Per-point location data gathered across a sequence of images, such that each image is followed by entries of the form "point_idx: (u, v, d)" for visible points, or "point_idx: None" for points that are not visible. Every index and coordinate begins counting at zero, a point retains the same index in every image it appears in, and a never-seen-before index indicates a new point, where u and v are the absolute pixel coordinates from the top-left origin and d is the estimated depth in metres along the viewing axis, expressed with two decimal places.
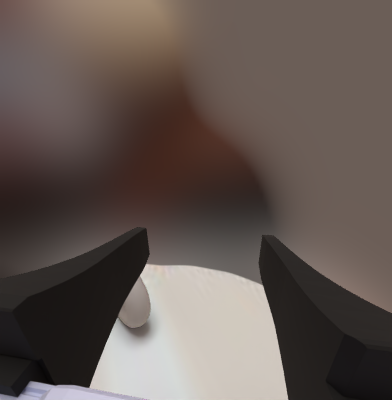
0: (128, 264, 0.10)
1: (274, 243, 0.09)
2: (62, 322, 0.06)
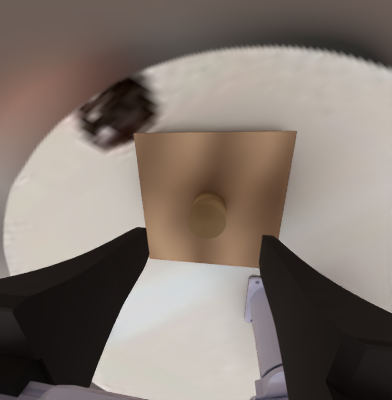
0: (128, 264, 0.10)
1: (274, 243, 0.09)
2: (62, 322, 0.06)
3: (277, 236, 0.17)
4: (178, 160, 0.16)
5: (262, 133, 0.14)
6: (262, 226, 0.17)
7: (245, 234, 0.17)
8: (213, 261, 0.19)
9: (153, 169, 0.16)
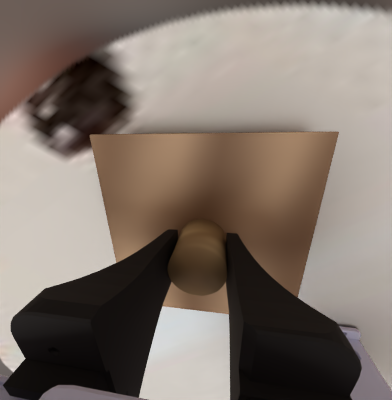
0: (165, 267, 0.09)
1: (233, 240, 0.09)
2: (122, 331, 0.05)
3: (299, 281, 0.12)
4: (156, 174, 0.11)
5: (283, 135, 0.09)
6: (278, 267, 0.12)
7: None
8: (208, 308, 0.14)
9: (121, 187, 0.11)
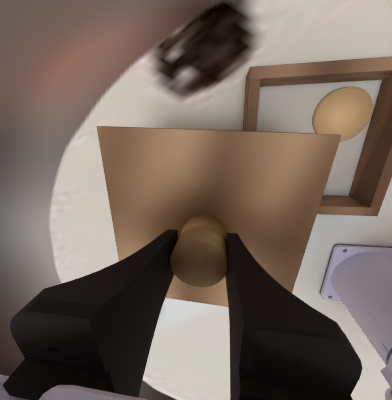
0: (165, 267, 0.09)
1: (233, 240, 0.09)
2: (122, 331, 0.05)
3: (294, 277, 0.13)
4: (161, 169, 0.11)
5: (288, 135, 0.09)
6: (275, 263, 0.12)
7: None
8: (206, 300, 0.15)
9: (126, 179, 0.12)
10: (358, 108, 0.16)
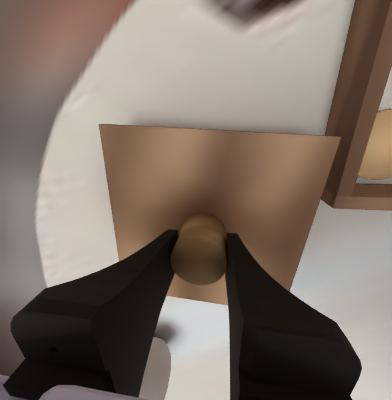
0: (165, 267, 0.09)
1: (233, 240, 0.09)
2: (123, 331, 0.05)
3: (292, 276, 0.13)
4: (163, 167, 0.11)
5: (288, 137, 0.09)
6: (273, 262, 0.13)
7: None
8: (204, 298, 0.15)
9: (127, 177, 0.12)
10: None
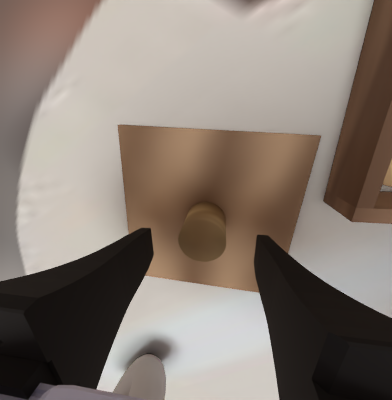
0: (133, 264, 0.10)
1: (268, 243, 0.09)
2: (71, 323, 0.06)
3: None
4: (171, 162, 0.13)
5: (277, 135, 0.11)
6: None
7: (246, 253, 0.15)
8: (206, 281, 0.16)
9: (140, 171, 0.13)
10: None
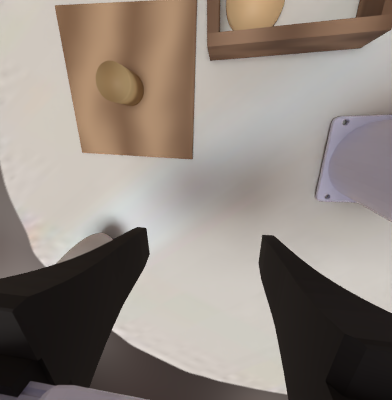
0: (128, 264, 0.10)
1: (274, 243, 0.09)
2: (62, 322, 0.06)
3: (192, 120, 0.18)
4: (97, 35, 0.17)
5: (167, 2, 0.15)
6: (178, 109, 0.18)
7: (163, 119, 0.19)
8: (138, 152, 0.20)
9: (76, 47, 0.18)
10: None
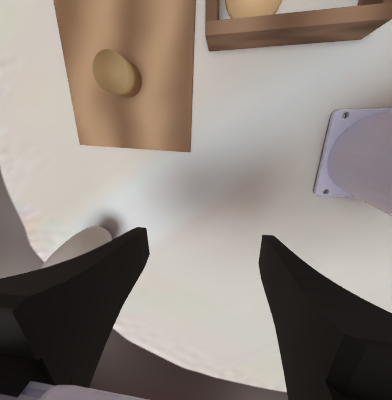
0: (128, 264, 0.10)
1: (274, 243, 0.09)
2: (62, 322, 0.06)
3: (190, 112, 0.18)
4: (94, 25, 0.17)
5: None
6: (176, 101, 0.18)
7: (161, 111, 0.19)
8: (136, 145, 0.20)
9: (73, 36, 0.17)
10: None
